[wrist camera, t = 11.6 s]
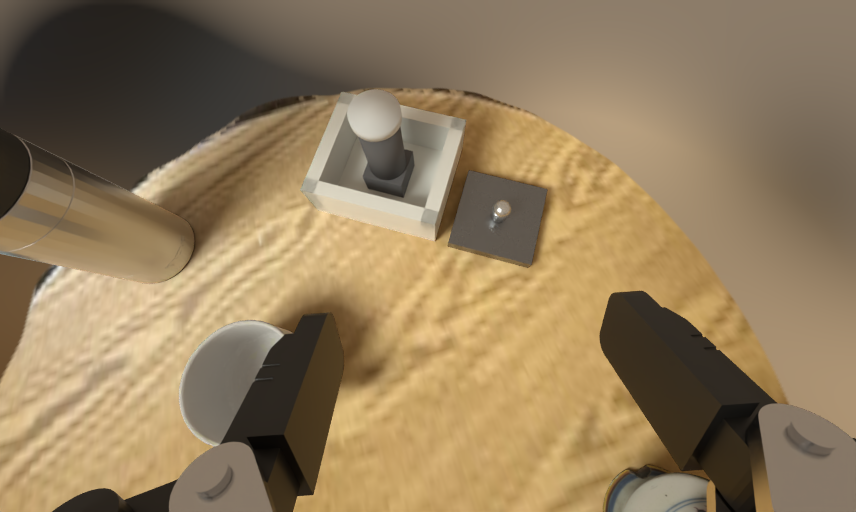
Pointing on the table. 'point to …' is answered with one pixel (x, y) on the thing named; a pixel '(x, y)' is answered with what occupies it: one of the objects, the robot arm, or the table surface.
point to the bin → (349, 196)
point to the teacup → (223, 376)
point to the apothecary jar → (656, 492)
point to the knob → (381, 141)
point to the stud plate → (498, 234)
